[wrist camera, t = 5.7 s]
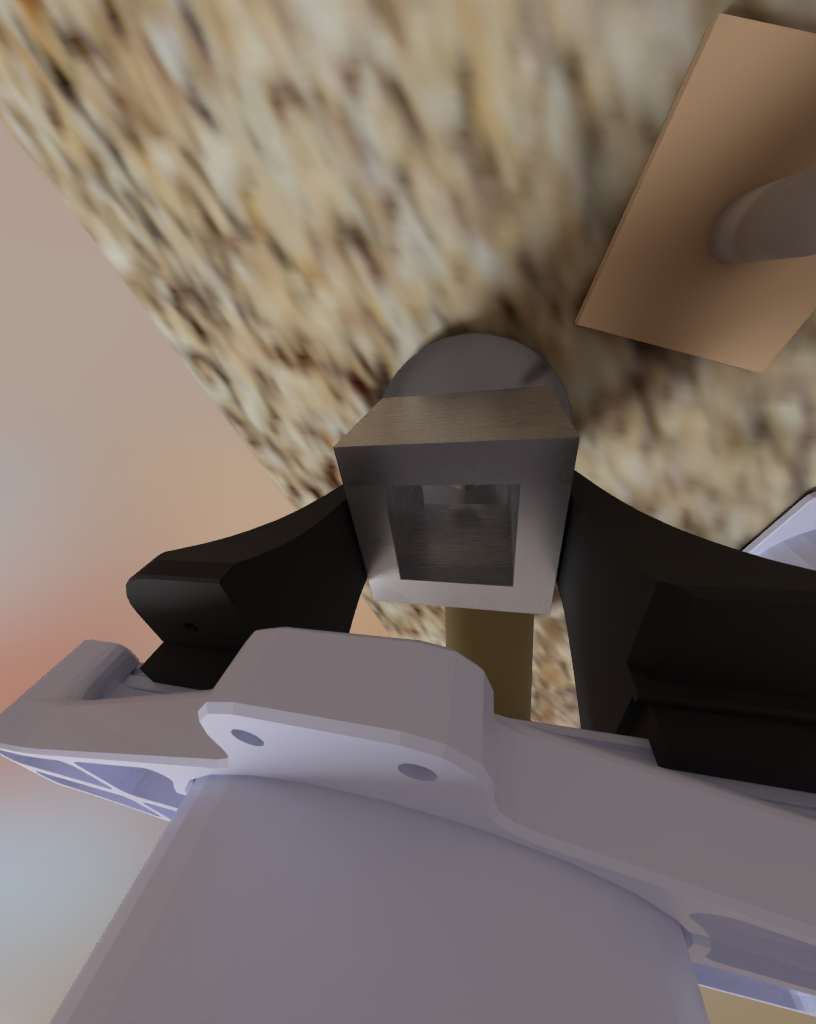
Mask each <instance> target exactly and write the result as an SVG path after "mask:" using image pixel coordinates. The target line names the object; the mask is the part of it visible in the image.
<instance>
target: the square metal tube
mask: <svg viewBox="0 0 816 1024" xmlns="http://www.w3.org/2000/svg"><path fill="white" fill-rule="evenodd" d="M579 438H580V437H579V435H578V433H577V432H576V430H575V428H574V427H573V425H572V423H571V422H570V420H569V418H568V417H567V415H566V413H565V412H564V410H563V408H562V407H561V405H560V403H559V402H558V400H557V398H556V397H555V395H554V393H553V392H552V390H551V388H550V387H549V385H548V386H535V387H522V388H509V389H497V390H484V391H471V392H458V393H445V394H432V395H419V396H406V397H394V398H382V399H381V400H380V401H379V402H378V403H377V404H376V405H375V406H374V407H373V408H372V409H371V410H370V411H369V412H368V413H367V414H366V415H365V416H364V417H363V418H362V419H361V420H360V421H359V422H358V423H357V424H356V425H355V426H354V427H353V428H352V429H351V430H350V431H349V432H348V433H347V434H346V435H345V436H344V437H343V438H342V439H341V440H340V441H339V442H338V443H337V444H336V445H335V446H334V447H333V448H334V452H335V456H336V459H337V463H338V467H339V471H340V474H341V478H342V482H343V486H344V489H345V493H346V497H347V501H348V505H349V508H350V512H351V516H352V520H353V523H354V527H355V531H356V535H357V538H358V542H359V546H360V550H361V553H362V557H363V561H364V565H365V568H366V572H367V576H368V580H369V583H370V587H371V591H372V595H373V599H374V601H386V602H398V603H410V604H422V605H434V606H446V607H458V608H471V609H483V610H495V611H507V612H519V613H531V614H543V615H550V609H551V604H552V598H553V592H554V586H555V580H556V574H557V568H558V562H559V556H560V550H561V544H562V539H563V533H564V527H565V521H566V515H567V509H568V503H569V497H570V491H571V485H572V480H573V474H574V468H575V462H576V456H577V450H578V444H579ZM478 484H508V495H507V504H424V497H423V488H422V485H478Z"/></svg>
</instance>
